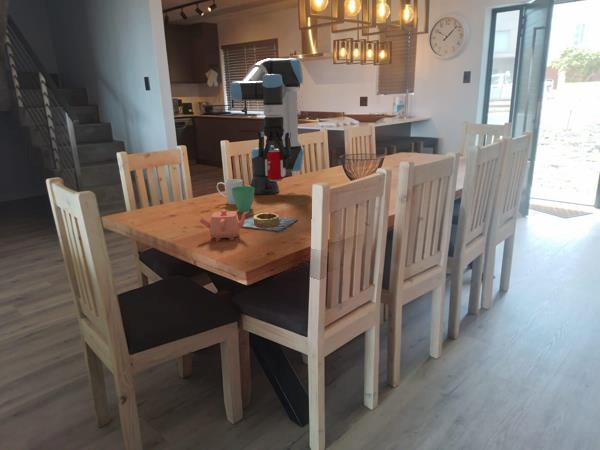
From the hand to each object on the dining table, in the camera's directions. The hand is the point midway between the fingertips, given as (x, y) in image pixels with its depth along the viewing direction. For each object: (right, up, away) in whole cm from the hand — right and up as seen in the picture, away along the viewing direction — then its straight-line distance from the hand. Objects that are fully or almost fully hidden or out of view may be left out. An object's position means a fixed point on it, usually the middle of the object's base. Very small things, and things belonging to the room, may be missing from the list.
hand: (275, 175), depth 176 cm
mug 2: (-14, -13, +19) cm, 27 cm away
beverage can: (0, -2, +1) cm, 2 cm away
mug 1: (-23, -10, +31) cm, 40 cm away
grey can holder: (-3, -19, -2) cm, 20 cm away
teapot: (-17, -24, -17) cm, 34 cm away
